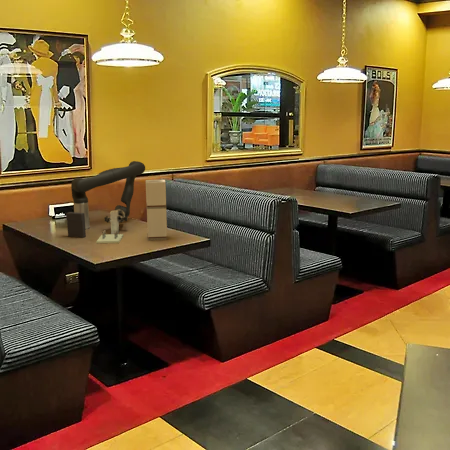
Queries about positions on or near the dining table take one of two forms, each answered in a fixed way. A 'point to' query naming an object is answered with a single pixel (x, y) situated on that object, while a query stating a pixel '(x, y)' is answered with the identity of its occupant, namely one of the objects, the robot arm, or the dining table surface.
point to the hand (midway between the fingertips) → (114, 220)
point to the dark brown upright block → (76, 224)
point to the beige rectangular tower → (156, 209)
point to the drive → (114, 221)
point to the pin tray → (110, 237)
